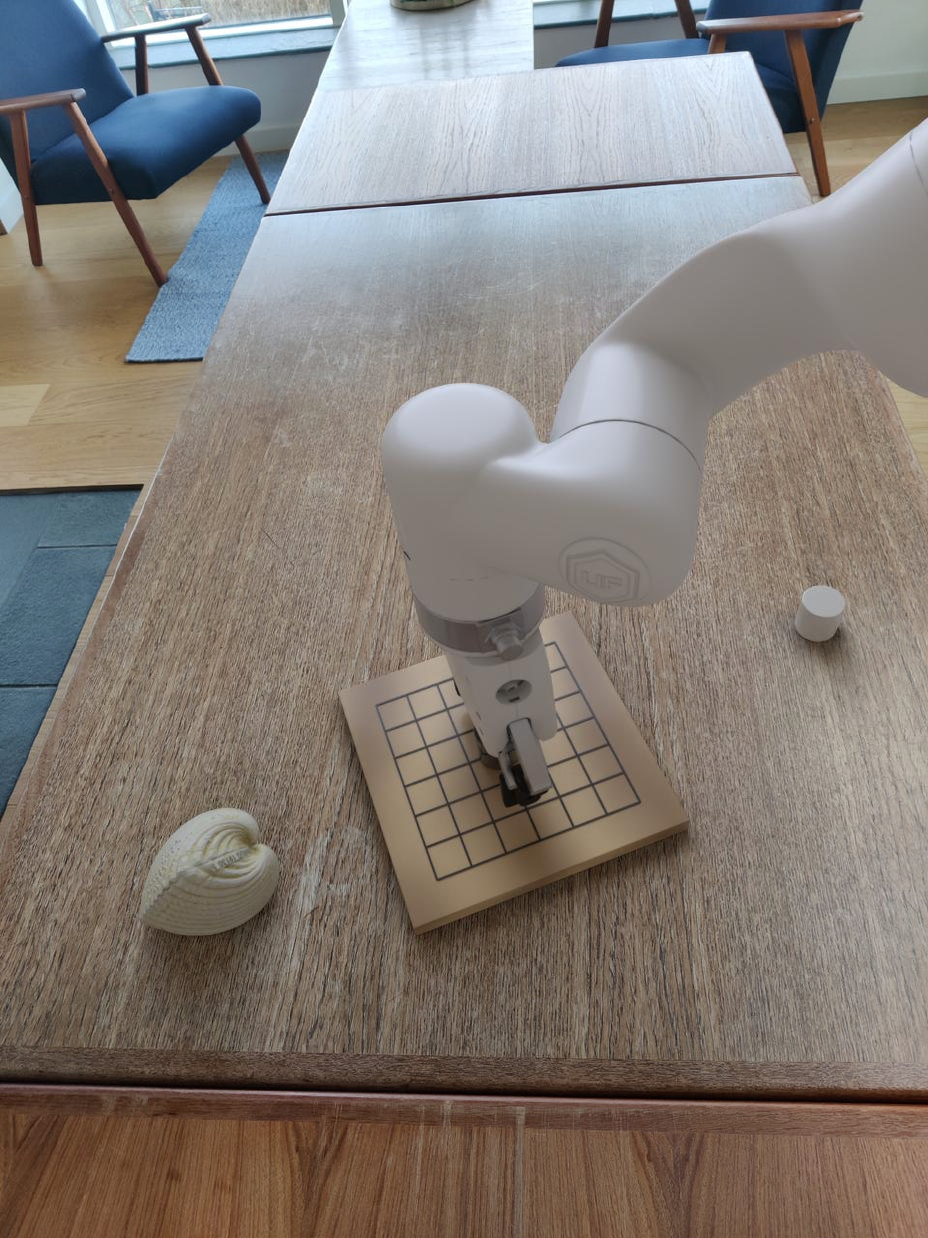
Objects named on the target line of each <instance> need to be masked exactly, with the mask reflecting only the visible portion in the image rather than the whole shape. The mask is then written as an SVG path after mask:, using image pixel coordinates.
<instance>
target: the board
mask: <svg viewBox="0 0 928 1238" xmlns="http://www.w3.org/2000/svg"><path fill="white" fill-rule="evenodd" d="M539 629H540V632H541V636H542V639H543V643H544V646H545V650H546V654H547V658H548V663H549V668H550V673H551V679H552V685H553V692H554V700H555V708H556V716H557V732H556V735H555V737H553V738H551V739H549V740H547V741H544V742H543V741H541V740H540V739H539V741H540V744H541V748H542V751H543V754H544V757H545V761H546V763H547V767H548V771H549V776H550V779H551V783H552V788H551V789H549V791H548V792H547V793H546V794H544V795H541V798H540V799H539V800H538V801H537V802H535V803H533V804H530V805H527V806H520V805H519V804H517V805H515V806H512V807H509V808H506V807H505V805H504V803H503V800H502V794H501V787H500V781H499V775H500V774H501V773H502V770H494V769H491V768H488V767H487V766H485V765H484V764H483V763H482V762H481V761H480V759H479V756H478V752H477V746H476V741H475V735H474V723H473V721H472V719H471V717H470V715H469V713H468V711H467V708H466V706H465V704H464V702H463V699H462V697H460V696H458V694H457V692H456V690H455V685H454V680H453V676H452V673H451V671H450V668H449V665H448V663H447V660H446V657H445V654H444V653H443V654H442V655H439V656H435V657H432V658H429V659H427V660H424V661H421V662H419V663H418V662H417V663H416V664H413V665H410V666H406V667H405V668H404V667H403V668H401V669H398V670H396V671H393V672H390V673H388V674H384V675H382V676H378V677H376V678H373V679H369V680H367V681H365V682H361V683H358V684H356V685H353V686H350V687H347V688H344V689H341V690H339V691H337V695H338V698H339V701H340V704H341V707H342V711H343V714H344V718H345V720H346V723H347V726H348V729H349V732H350V735H351V739H352V742H353V744H354V748H355V751H356V754H357V757H358V760H359V763H360V768H361V770H362V772H363V776H364V779H365V782H366V785H367V788H368V792H369V794H370V797H371V798H370V799H371V801H372V804H373V807H374V810H375V813H376V816H377V820H378V822H379V826H380V829H381V832H382V835H383V838H384V841H385V842H384V843H385V844H386V848H387V851H388V854H389V858H390V860H391V863H392V867H393V869H394V872H395V875H396V879H397V882H398V885H399V888H400V891H401V895H402V897H403V900H404V904H405V907H406V910H407V913H408V916H409V919H410V922H411V926H412V928H413V931H414V934H415V935H416V936H420V935H422V934H425V933H427V932H430V931H432V930H435V929H437V928H440V927H443V926H445V925H447V924H450V923H453V922H456V921H458V920H461V919H463V918H466V917H468V916H471V915H474V914H477V913H479V912H480V911H483V910H486V909H489V908H491V907H494V906H496V905H499V904H501V903H505V902H506V901H509V900H511V899H514V898H517V897H519V896H522V895H524V894H526V893H529V892H533V891H534V890H537V889H539V888H542V887H544V886H548V885H551V884H552V883H554V882H557V881H560V880H562V879H565V878H568V877H570V876H573V875H575V874H578V873H581V872H582V871H585V870H588V869H590V868H592V867H595V866H598V865H600V864H603V863H605V862H608V861H610V860H613V859H616V858H619V857H621V856H623V855H626V854H628V853H629V854H630V853H631V852H633V851H636V850H638V849H641V848H644V847H647V846H649V845H651V844H654V843H656V842H659V841H661V840H664V839H667V838H669V837H673V836H675V835H677V834H679V833H682V832H684V831H687V830H689V825H690V818H689V816H688V814H687V812H686V810H685V809H684V807H683V806H682V803H681V802H680V800H679V799H678V796H677V795H676V793H675V792H674V790H673V787H671V784H670V782H669V781H668V779H667V777H666V776H665V773H664V771H662V769H661V766H660V765H659V763H658V761H657V760H656V758H655V756H654V754H653V752H652V750H651V749H650V747H649V745H648V743H647V742H646V740H645V739H644V736H643V734H642V733H641V732H640V730H639V728H638V726H637V724H636V722H635V721H634V719H633V717H632V715H631V713H630V712H629V710H628V708H627V706H626V704H625V703H624V701H623V699H622V697H621V696H620V694H619V693H618V691H617V689H616V687H615V685H614V684H613V682H612V680H611V679H610V676H609V675H608V673H607V671H606V669H605V668H604V666H603V665H602V663H601V661H600V658H599V657H598V656H597V654H596V652H595V650H594V648H593V646H592V644H591V643H590V641H589V640H588V638H587V636H586V634H585V633H584V631H583V629H582V627H581V625H580V624H579V622H578V620H577V618H576V617H575V615H574V613H573V611H572V610H571V609H570V610H567V611H563V612H561V613H558V614H556V615H555V614H554V615H552V616H550V617H546V618H543V620H542V622H541V624H540V626H539ZM517 764H520V761H519V759H518V761H517V762H516V763H515V764H514V765H517ZM514 765H513V766H514ZM511 767H512V766H511Z"/></svg>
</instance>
